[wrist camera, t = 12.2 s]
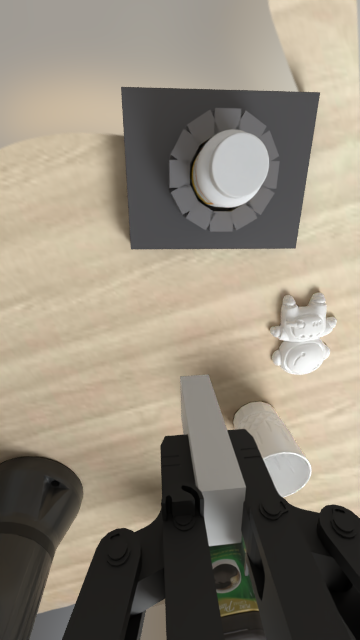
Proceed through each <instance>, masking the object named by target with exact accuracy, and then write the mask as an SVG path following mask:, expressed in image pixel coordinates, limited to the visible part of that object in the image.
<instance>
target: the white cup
mask: <svg viewBox="0 0 360 640" xmlns="http://www.w3.org/2000/svg"><path fill="white" fill-rule="evenodd" d="M233 424H234V427H235V430H236V429H246V430H247V431H248V432H249V433H250V434H251V435H252V436H253V437H254V440H255V442H256V444H257V446H258V449H259V451H260V453H261V456H262V458H263V460H264V462H265V465H266V467H267V469H268V472H269V474H270V476H271V478H272V481H273V483H274V485H275V488H276V490H277V491H278V493H279V495H280V496H281V497H286V496H289V495H291V494H293V493H295V492H297V491H299V490H300V489H301V488H302V487H304V486H305V484H306V483H307V482H308V480H309V479H310V476H311V471H312V470H311V465H310V463H309V461H308V459H307V458H306V456H305V455H304V453H303V451H302V450H301V448H300V447H299V445H298V443H297V442H296V440H295V439H294V437H293V435H292V434H291V432H290V431H289V429H288V428H287V426H286V425H285V423H284V422H283V421H282V419H281V418H280V416H279V415H278V413H277V412H276V410H275V409H274V408H273V407H272V406H271V405H270V404H268V403H264V402H261V401H259V402H250V403H248V404H246V405H244V406H242V407H241V408H240V409H239V410H238V411H237V412H236V414H235V417H234V421H233Z"/></svg>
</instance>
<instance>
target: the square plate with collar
mask: <svg viewBox="0 0 360 640" xmlns="http://www.w3.org/2000/svg"><path fill="white" fill-rule="evenodd" d="M121 91H122V109H123V126H124V142H125V159H126V175H127V192H128V208H129V225H130V241H131V249H282V248H296V242H297V236H298V229H299V223H300V216H301V210H302V204H303V197H304V191H305V185H306V178H307V172H308V166H309V159H310V153H311V146H312V140H313V134H314V127H315V121H316V115H317V108H318V102H319V96H320V92H283V91H248V90H212V89H211V90H210V89H176V88H175V89H173V88H139V87H137V88H136V87H121ZM231 129H236V130H242V131H244V132H247V133H250V134H253V135H255V136H256V137H258V138H259V139H260V140H261V141H262V142H263V144H264V145H265V147H266V149H267V152H268V156H269V169H268V173H267V176H266V179H265V181H264V182H263V184H262V185H261V187H260V189H259V190H258V192H257V193H256V194H255V195H254V196H253V197H252V198H251V199H250V200H249V201H247V202H246V203H244V204H242V205H239V206H236V207H229V208H226V207H213V206H209V205H206V204H204V203H202V202H201V201H200V200H199V199H198V198H197V197H196V196H195V194H194V192H193V190H192V188H191V184H190V170H191V167H192V164H193V162H194V160H195V158H196V157H197V155H198V154H199V153H200V151H201V150H202V148H203V147H204V145H205V144H206V143H207V142H208V141H209V140H210V139H211V138H212V137H213V136H215V135H216V134H218V133H220V132H222V131H225V130H231Z"/></svg>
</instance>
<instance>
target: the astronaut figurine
mask: <svg viewBox="0 0 360 640" xmlns="http://www.w3.org/2000/svg"><path fill="white" fill-rule="evenodd" d="M325 301H326V300H325V298H324V295H323V294H322V293H319V292H318V293H315V294H313V295H312V297H311V299H310V302H309V304H308V306H304V307H298V306H297V305H296V304H295V300H294V299H293V297H292V296H290V295H286V296H284V298H283V303H282V306H281V323H280V326H273V327H271V328H270V333H271V334H272V335H273V336H274V337H277V338H278V339H280V340H284V341H283V343H282V344H281V345H280V347H279V350H276V351H275V352H274V353H273V355H272V361H273V363H274V364H275V365H279V366H280V367H281V368H282V369H283V370H284V371H286V372H288V373H291V374H296V375H302V374H307V373H310V372H312V371H314V370H316V369H317V368H318V367H319V366H320V365H321V364H322V362H323V360H324V359H326V358H327V357H328V356H329V354H330V349H329V347H328V346H327V345H325V344H324V343H323V342H322V340H321V339H320V338H319V337H322V336H325V335H327V334H329V333H330V332H331V331H332V330H333V329H332V328H334V327H335V325H336V322H337V319H336V318H335V317H327V318H326V310H327V306H326V303H325Z"/></svg>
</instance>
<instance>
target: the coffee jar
mask: <svg viewBox="0 0 360 640" xmlns="http://www.w3.org/2000/svg"><path fill="white" fill-rule="evenodd" d="M209 549H210V555H211V561H212V567H213V573H214V579H215V585H216V591H217V597H218V603H219V609H220V615H221V621H222V627H223V632H224V638H225V640H266V636H265V632H264V628H263V624H262V621H261V617H260V613H259V609H258V605H257V601H256V598H255V594H254V590H253V586H252V582H251V578H250V575H249V572H248V576H245V571H244V565H245V554H246V546H245V542H244V539H243V535H242V541H241V543H233V544H224V545H216V546H209Z"/></svg>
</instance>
